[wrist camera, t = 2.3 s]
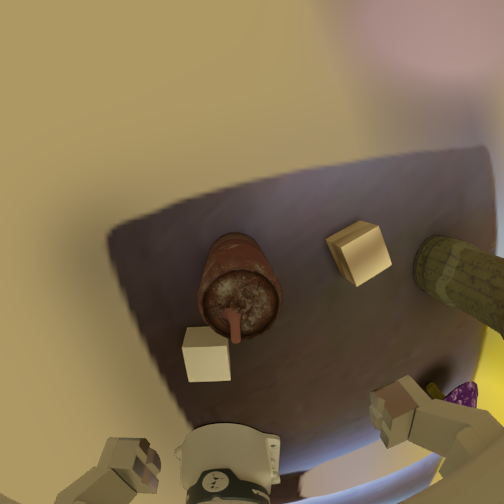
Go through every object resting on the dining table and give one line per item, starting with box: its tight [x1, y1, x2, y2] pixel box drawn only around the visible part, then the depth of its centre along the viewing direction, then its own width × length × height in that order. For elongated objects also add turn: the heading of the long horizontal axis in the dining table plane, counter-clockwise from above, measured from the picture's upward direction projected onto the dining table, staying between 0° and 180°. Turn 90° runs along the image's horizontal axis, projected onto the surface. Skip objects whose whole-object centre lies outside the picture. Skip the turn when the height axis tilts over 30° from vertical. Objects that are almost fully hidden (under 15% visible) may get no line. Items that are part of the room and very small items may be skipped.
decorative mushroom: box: [426, 382, 478, 408], centre depth 34 cm, size 12×12×15 cm
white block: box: [182, 326, 231, 382], centre depth 32 cm, size 5×5×5 cm
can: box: [197, 233, 283, 343], centre depth 26 cm, size 6×6×14 cm
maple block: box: [325, 221, 392, 287], centre depth 31 cm, size 5×5×5 cm
